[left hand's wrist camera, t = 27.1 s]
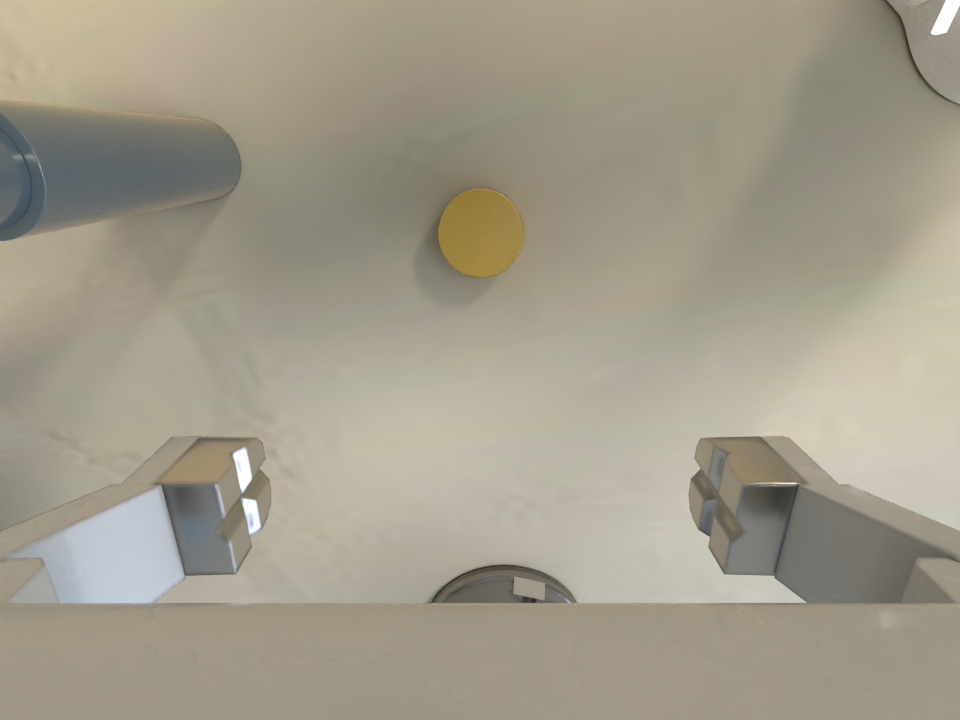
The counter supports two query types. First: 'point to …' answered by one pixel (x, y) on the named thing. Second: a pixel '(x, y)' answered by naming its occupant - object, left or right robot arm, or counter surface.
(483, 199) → the lid
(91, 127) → the jar
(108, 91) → the counter surface
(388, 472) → the counter surface
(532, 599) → the right robot arm
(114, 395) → the counter surface
